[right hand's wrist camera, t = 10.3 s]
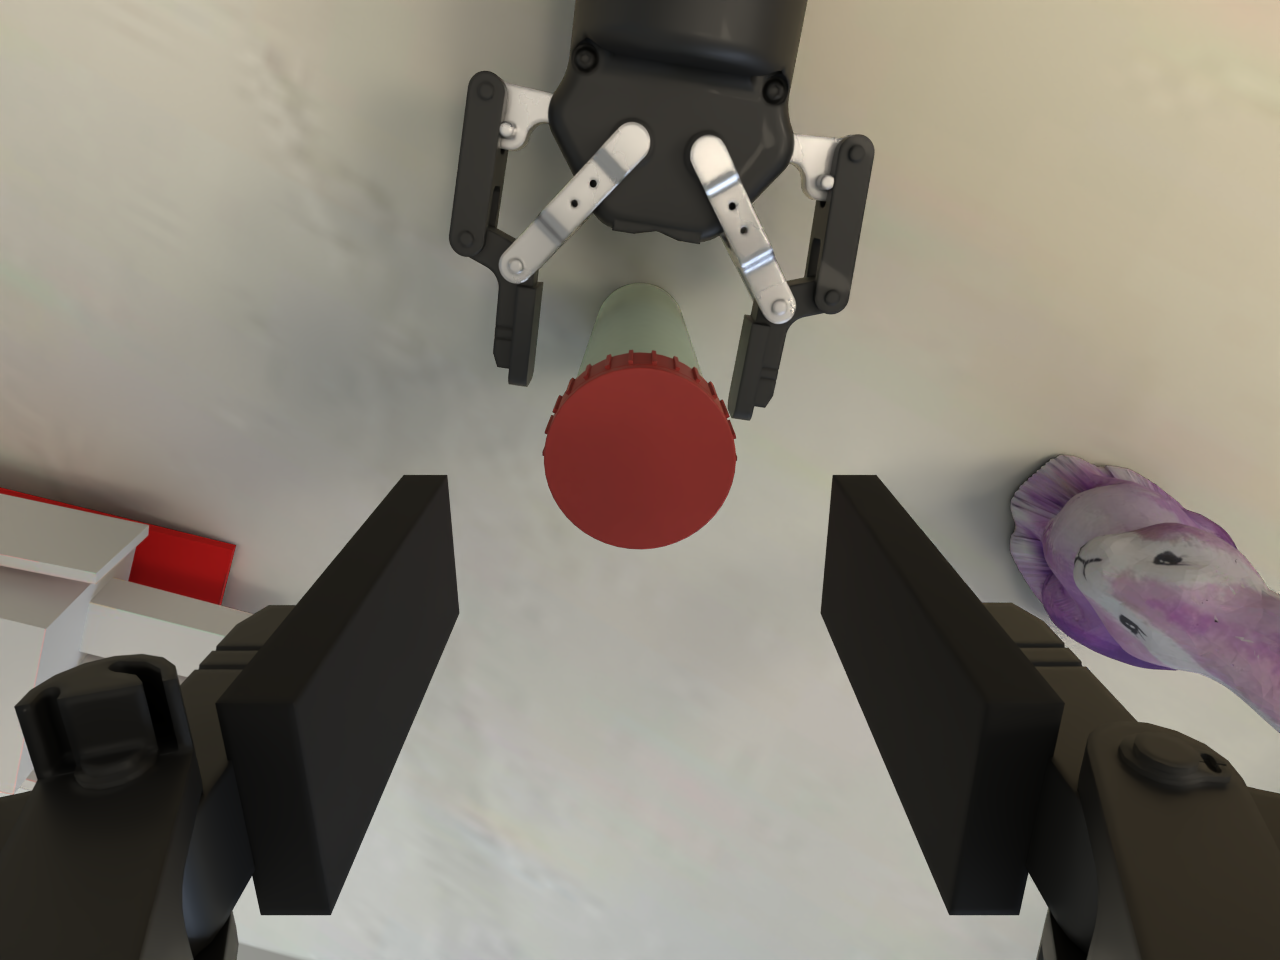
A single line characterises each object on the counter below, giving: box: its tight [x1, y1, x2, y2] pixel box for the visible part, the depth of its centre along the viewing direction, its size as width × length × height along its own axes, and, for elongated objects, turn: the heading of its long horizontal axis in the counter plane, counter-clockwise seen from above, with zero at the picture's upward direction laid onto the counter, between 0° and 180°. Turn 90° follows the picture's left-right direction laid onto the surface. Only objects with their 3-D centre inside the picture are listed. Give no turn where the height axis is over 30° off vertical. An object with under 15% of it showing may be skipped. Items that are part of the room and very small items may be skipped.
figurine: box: [1010, 455, 1280, 733], centre depth 33 cm, size 9×10×15 cm
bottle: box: [577, 283, 703, 377], centre depth 28 cm, size 4×4×19 cm
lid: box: [543, 350, 737, 549], centre depth 19 cm, size 5×5×2 cm
